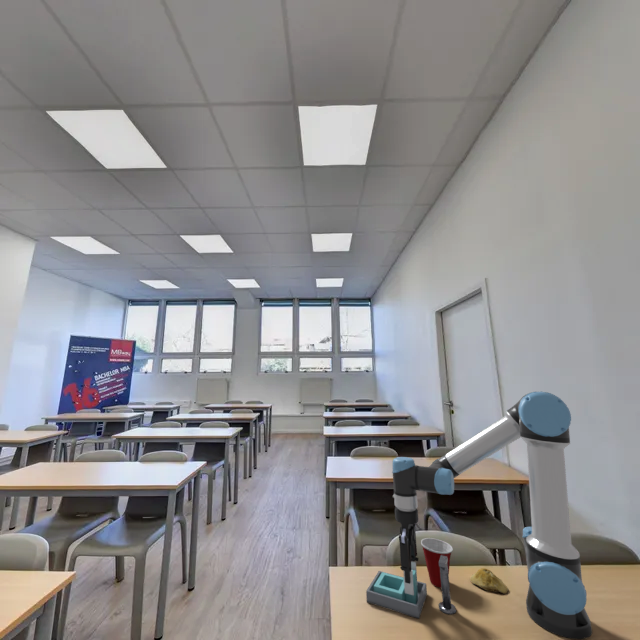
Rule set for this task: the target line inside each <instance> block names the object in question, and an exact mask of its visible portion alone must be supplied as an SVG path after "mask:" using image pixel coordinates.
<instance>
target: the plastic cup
mask: <svg viewBox="0 0 640 640" xmlns="http://www.w3.org/2000/svg"><path fill="white" fill-rule="evenodd" d="M420 544H421V546H422V551H423V554H424V555H423V556H424V559H425V564H426V568H427V569H426V570H427V573H428V578H429V581H430V583H431V585H433V586H434V587H436V588H440V589H442V588H441V576H440V567H439V559H440V556H441V555H443V556H447V558H448V562H447V564H448V575H450V562H451V555H452V552H453V550H454V549H453V546H452V545H451V544H450V543H448V542H446V541H444V540H441V539H438V538H433V537H426V538H422V539H421V540H420Z"/></svg>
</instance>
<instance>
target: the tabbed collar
mask: <svg viewBox="0 0 640 640" xmlns="http://www.w3.org/2000/svg"><path fill="white" fill-rule="evenodd" d="M412 571H413V586H414V596H413V595H410V594H407V593H405V589H404V578H403V577H404V576H400V577H399V575H397V576H395V575H396V574H393V575H391V574H392V573H389V574H388V572H385V571H382V573H381V575H380V576H379V578H378V580H377V581H376V583H375V585H374V592H376V593H380V594H383V595H386V596H389V597H393V598H396V599H399V600H403V601H406V602H409V603H413V604H417V601H418V591H417V581H418V576H417V577H416V570H412ZM384 572H385V573H384Z"/></svg>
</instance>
